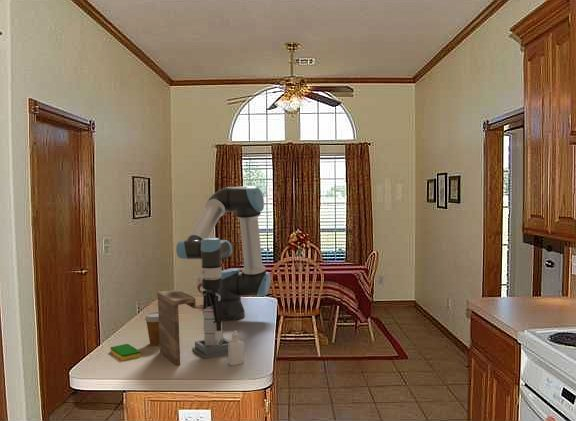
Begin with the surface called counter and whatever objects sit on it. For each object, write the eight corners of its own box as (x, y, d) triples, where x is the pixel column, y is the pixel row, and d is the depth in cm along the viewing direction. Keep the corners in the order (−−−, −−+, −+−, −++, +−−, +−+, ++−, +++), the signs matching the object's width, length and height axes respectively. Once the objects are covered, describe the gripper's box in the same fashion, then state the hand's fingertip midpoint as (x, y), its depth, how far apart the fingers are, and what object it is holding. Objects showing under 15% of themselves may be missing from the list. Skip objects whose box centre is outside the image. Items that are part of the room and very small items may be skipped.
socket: (222, 344, 216) (222, 335, 215) (236, 352, 204) (236, 343, 204) (192, 349, 209) (192, 341, 209) (204, 358, 198) (204, 349, 198)
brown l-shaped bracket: (179, 348, 212) (177, 289, 211) (197, 361, 195) (195, 298, 194) (159, 351, 208) (157, 292, 207) (176, 365, 191) (174, 300, 190)
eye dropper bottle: (228, 361, 194) (227, 329, 193) (244, 360, 194) (243, 328, 194) (228, 365, 189) (227, 332, 189) (244, 364, 190) (243, 331, 189)
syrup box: (218, 346, 203) (217, 309, 202) (204, 346, 204) (202, 309, 204) (223, 342, 209) (222, 305, 208) (209, 341, 210) (208, 305, 209)
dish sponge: (128, 349, 214) (127, 343, 214) (140, 357, 203) (140, 351, 202) (110, 353, 209) (110, 346, 209) (122, 361, 198) (122, 355, 198)
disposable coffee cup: (173, 340, 223) (172, 312, 222) (161, 347, 214) (160, 317, 213) (154, 339, 226) (153, 311, 225) (141, 345, 217) (140, 316, 216)
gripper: (193, 275, 212) (195, 331, 213) (213, 283, 195) (215, 344, 196) (210, 273, 216) (212, 328, 217) (231, 280, 199) (233, 340, 200)
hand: (213, 336), depth 206 cm, fingers closed on syrup box, 8 cm apart
